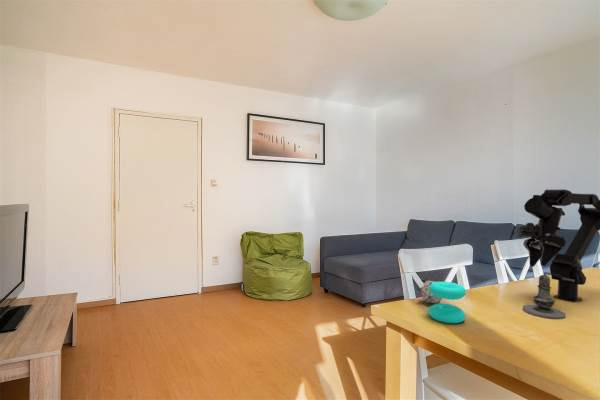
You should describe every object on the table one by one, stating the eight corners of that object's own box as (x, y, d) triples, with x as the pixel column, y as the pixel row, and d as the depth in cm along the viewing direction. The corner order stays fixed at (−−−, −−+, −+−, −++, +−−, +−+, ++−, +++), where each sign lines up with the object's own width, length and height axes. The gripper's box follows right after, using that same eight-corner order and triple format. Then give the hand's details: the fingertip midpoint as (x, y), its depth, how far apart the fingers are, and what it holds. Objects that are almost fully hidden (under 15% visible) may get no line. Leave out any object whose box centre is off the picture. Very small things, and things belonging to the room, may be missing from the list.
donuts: (422, 282, 103) (445, 279, 107) (421, 315, 103) (444, 310, 108) (449, 291, 94) (473, 287, 98) (448, 327, 94) (472, 321, 99)
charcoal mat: (532, 305, 115) (532, 302, 115) (571, 315, 106) (571, 312, 106) (515, 310, 109) (515, 307, 109) (555, 321, 100) (555, 318, 100)
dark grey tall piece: (559, 312, 106) (561, 274, 105) (544, 313, 104) (546, 274, 104) (542, 306, 111) (543, 269, 111) (527, 307, 110) (528, 270, 110)
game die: (432, 316, 113) (429, 297, 107) (414, 300, 120) (411, 281, 114) (453, 302, 114) (451, 282, 109) (434, 287, 121) (431, 267, 116)
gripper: (513, 220, 130) (502, 259, 128) (533, 211, 113) (521, 256, 111) (546, 229, 127) (535, 269, 125) (572, 222, 109) (560, 268, 107)
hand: (536, 266), depth 117 cm, fingers open, 9 cm apart
